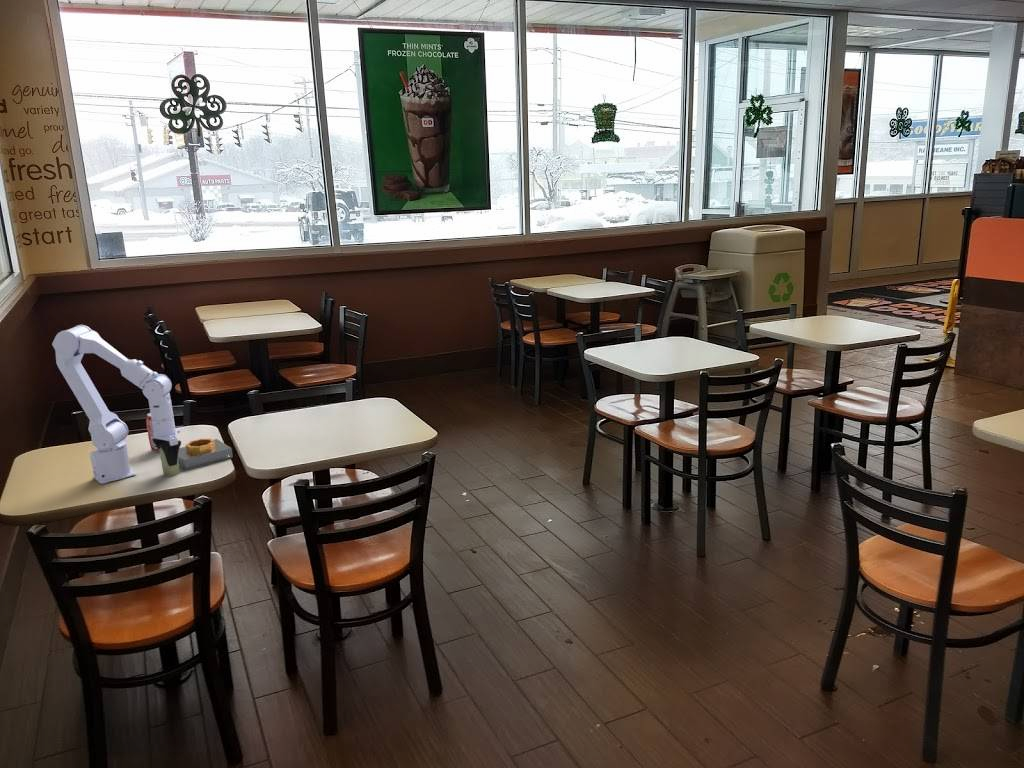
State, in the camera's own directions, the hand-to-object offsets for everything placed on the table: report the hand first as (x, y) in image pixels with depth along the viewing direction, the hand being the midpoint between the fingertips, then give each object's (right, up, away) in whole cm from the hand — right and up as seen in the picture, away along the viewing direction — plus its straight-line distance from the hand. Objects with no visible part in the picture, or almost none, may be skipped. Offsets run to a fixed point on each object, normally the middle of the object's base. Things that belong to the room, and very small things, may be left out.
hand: (170, 463), depth 225 cm
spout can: (0, -3, +1) cm, 3 cm away
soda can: (-12, +2, +22) cm, 25 cm away
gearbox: (+4, 0, +13) cm, 14 cm away
